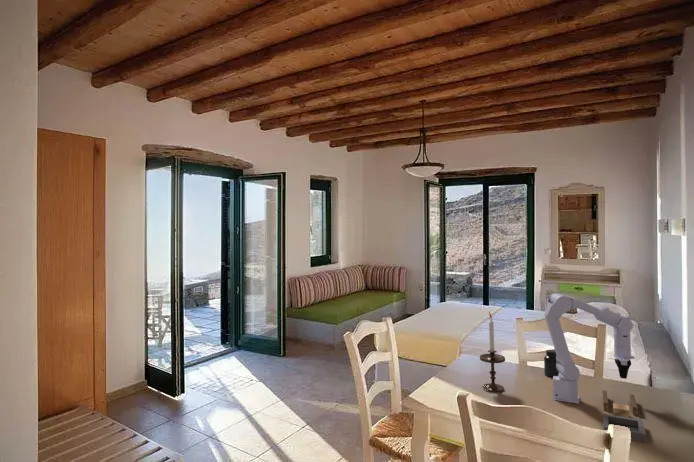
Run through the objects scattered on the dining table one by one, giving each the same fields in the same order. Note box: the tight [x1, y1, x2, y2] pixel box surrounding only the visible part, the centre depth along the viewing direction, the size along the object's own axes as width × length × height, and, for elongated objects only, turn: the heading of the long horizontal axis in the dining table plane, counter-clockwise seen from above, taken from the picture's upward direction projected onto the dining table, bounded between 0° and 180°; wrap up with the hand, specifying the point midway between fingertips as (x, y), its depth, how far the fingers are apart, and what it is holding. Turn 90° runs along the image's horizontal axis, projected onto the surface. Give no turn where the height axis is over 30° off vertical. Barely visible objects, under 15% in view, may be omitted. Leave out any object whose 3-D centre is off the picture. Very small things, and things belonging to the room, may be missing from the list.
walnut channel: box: [602, 390, 639, 417], centre depth 167 cm, size 11×14×3 cm
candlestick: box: [479, 311, 506, 393], centre depth 188 cm, size 11×11×35 cm
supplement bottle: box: [543, 349, 559, 378], centre depth 203 cm, size 7×7×12 cm
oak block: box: [612, 402, 630, 418], centre depth 157 cm, size 5×5×4 cm
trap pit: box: [602, 413, 648, 443], centre depth 147 cm, size 12×12×2 cm
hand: (623, 377), depth 172 cm, fingers closed
